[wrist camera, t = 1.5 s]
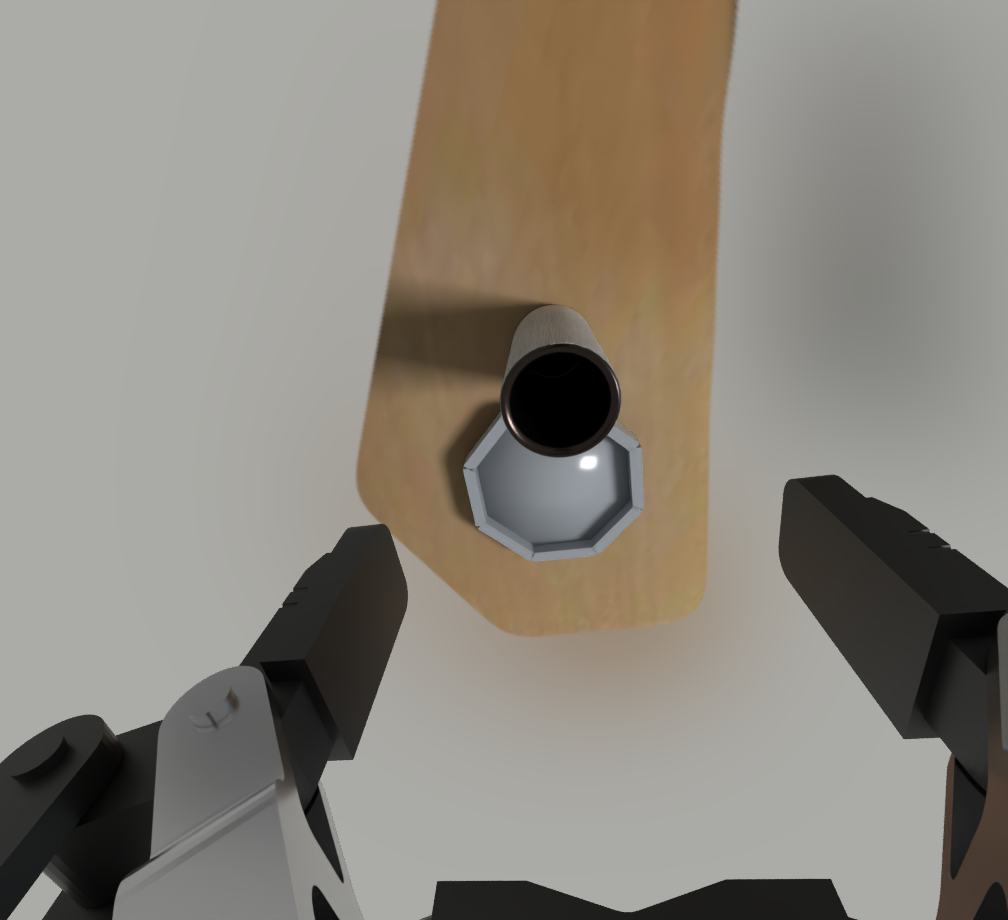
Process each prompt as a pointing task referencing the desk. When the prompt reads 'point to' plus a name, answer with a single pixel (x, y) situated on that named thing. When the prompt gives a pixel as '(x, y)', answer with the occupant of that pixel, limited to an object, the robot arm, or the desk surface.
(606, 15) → the desk surface
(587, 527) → the saucer
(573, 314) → the planter
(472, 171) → the desk surface
